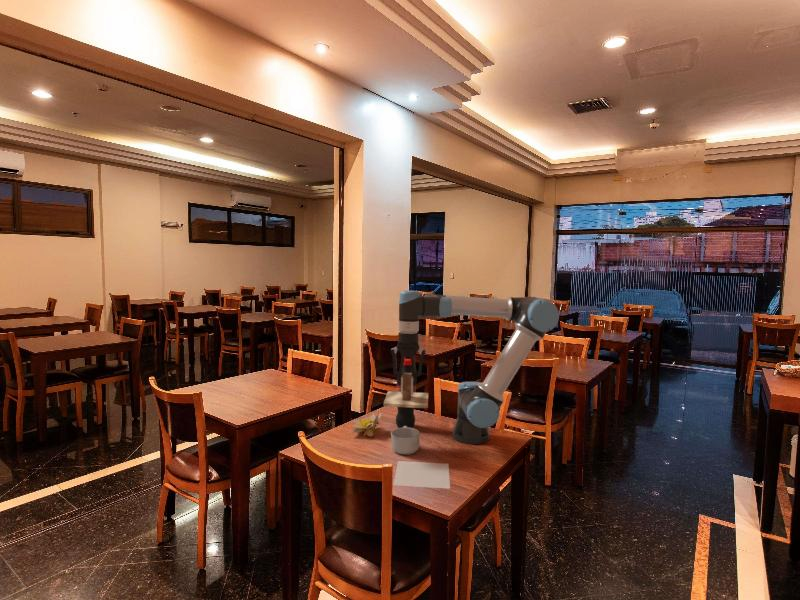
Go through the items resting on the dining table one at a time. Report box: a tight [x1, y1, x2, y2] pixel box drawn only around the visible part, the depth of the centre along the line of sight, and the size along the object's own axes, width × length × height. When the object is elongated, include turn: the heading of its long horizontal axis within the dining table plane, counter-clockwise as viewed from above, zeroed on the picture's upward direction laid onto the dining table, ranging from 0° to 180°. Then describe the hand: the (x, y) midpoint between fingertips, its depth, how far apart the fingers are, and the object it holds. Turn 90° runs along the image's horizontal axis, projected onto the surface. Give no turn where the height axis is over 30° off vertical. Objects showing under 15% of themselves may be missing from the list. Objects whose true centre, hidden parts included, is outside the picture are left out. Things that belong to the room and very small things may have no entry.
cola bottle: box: [395, 358, 417, 428], centre depth 199 cm, size 8×8×30 cm
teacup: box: [390, 426, 420, 456], centre depth 175 cm, size 14×11×8 cm
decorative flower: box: [351, 412, 382, 437], centre depth 193 cm, size 15×11×10 cm
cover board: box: [382, 373, 429, 409], centre depth 173 cm, size 16×16×10 cm
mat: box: [393, 460, 451, 490], centre depth 155 cm, size 18×18×1 cm
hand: (406, 393), depth 173 cm, fingers closed on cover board, 3 cm apart
